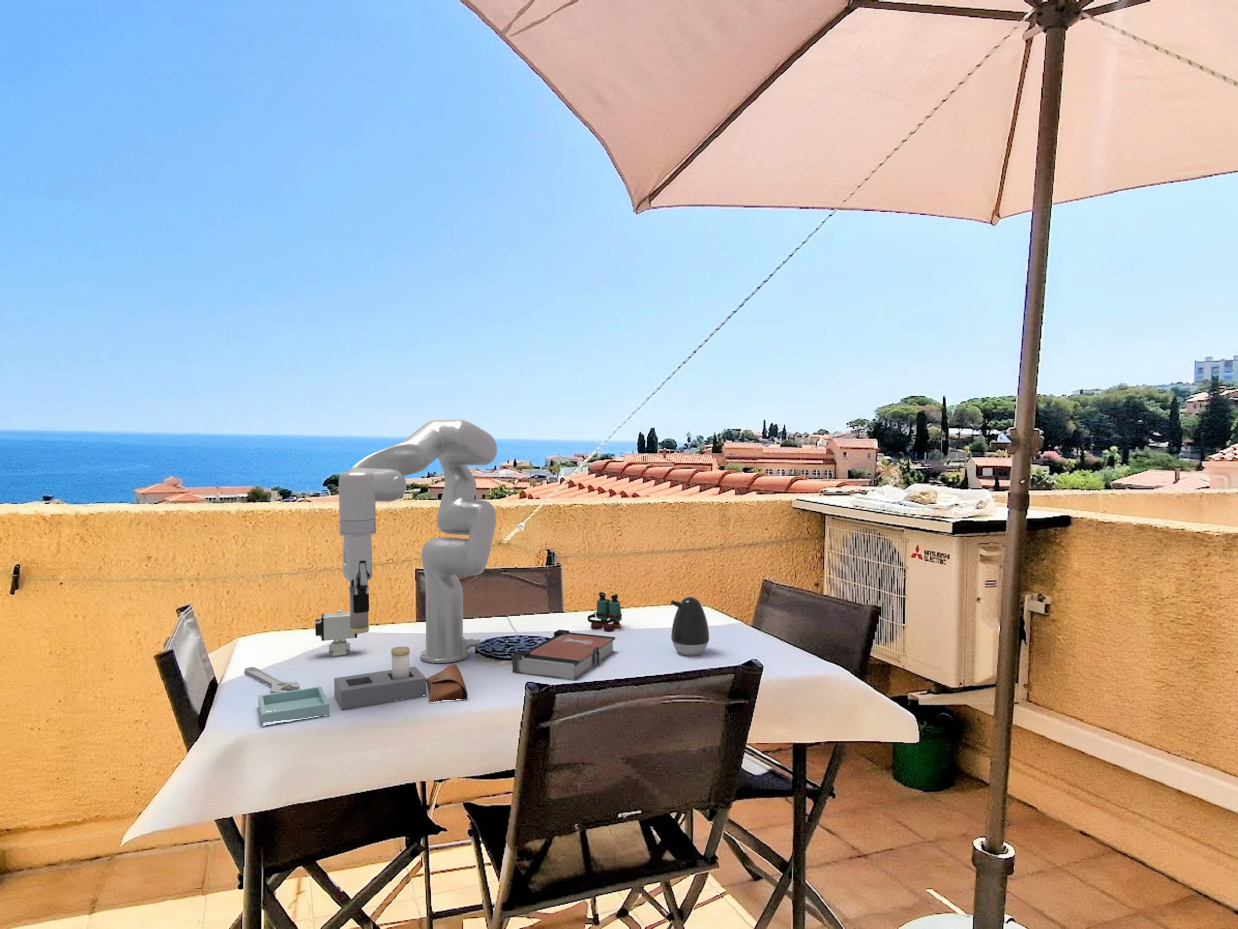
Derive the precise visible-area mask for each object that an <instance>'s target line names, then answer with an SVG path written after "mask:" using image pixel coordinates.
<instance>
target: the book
mask: <svg viewBox="0 0 1238 929" xmlns="http://www.w3.org/2000/svg"><path fill="white" fill-rule="evenodd" d="M614 640H616V637H615V636H608V635H599V634H598V635H597V634H591V633H589V634H588V633H582V632H581V633H578V632H570V630H569V629H568V630H566V629H558V630H556V631H554V632H553V636H552V637H551V638H549V639H547V640H545V641H543V642H541V643H539V644H538V645H536V646H533V647H532V648H530V649H528V650H527V651H521V650H518V651H516V652H514V653H512V655H511V657H512V673H513V674H520V675H529V676H535V677H543V678H550V679H559V680H566V681H577V679H578V678H580V677H582V676H583V675H585V674H586V673H587V672H588V671H590V670H591V669H593V668H594V667H598V666H599V665H600V663H601V662H603V661H604V660H605V659H607V658H609V656H611V655H612V654H614V653H616V651H615V650H614Z"/></svg>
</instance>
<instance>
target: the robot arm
mask: <svg viewBox="0 0 1238 929" xmlns="http://www.w3.org/2000/svg"><path fill="white" fill-rule="evenodd" d="M497 446H498V445H497V442H496V440H495V438H494V437H493V435H491V434H490V433H488V431H485V430H484V429H482V428H481V427H478V426H477V425H476V424H474V423H472V422H469V421H468V420H465V419H463V420H462V419H434V420H430V421H428V422H426V423H424V424H423V425H422V426H421V427H419V428H418V429H417V430H415V431H414V432H413V433H412V434H411V435H409V436H408V437H407V438H406V439H404V440H403V441H401V442H400V443H398V444H394V445H391V446H389V447H387V448H384V449H382V450H379V451H377V452H376V451H375V452H374V453H371V454H369V455H367V456H366V457H363V458H362V459H361V460H359V461H358V462H357V463H355V464H354V465H353V466H352V467H351V468H350V469H349V470H348V471H344V472H341V473H340V475H338V476H339V477H338V505H339V506H338V508H339V509H338V511H339V512H338V513H339V515H338V516H339V535H340V536H342V537H343V543H342V544H343V545H342V575H343V577H344V578H345V579H346V580H347V581H348V582H349V586H352V585H354V592H355V595H353V612H354V613H363V612H368V613H369V612H370V593H369V590H368V585H369V581H370V580H371V579H372V578H373V546H372V544H373V543H372V535H375V534H377V523H376V522H377V517H376V516H377V513H376V511H377V509H376V504H377V502H380V503H381V502H383V503H387V502H388V503H389V502H394V501H397V500H399V499H400V498H402V496H403V495H404V494H405V492H406V490H407V480H406V477H405V476H409V475H414V474H417V473H420V472H423V471H424V470H426V469H427V467H429V466H430V465H431V464H432V463H433V462H434V461H435V460H437V459H438V461H439V463H440V466H441V468H442V471H443V474H444V487H443V491H442V495H441V499H440V503H439V508H438V510H437V517H436V527H437V529H438V530H439V531H440V532H441V533H443V534H448V535H457V536H458V535H459V536H468V538H463V537H461V538H460V537H445V536H443V537H442V536H441V537H434V538H430V539H429V540H428V541H426V543H425V544H424V545H423V547H422V549H421V555H420V556H421V563H422V568H423V573H424V581H425V582H424V583H425V649H424V650H423V651H421V652H420V655H419V658H420V659H421V661H423V662H426V663H431V664H449V663H454V662H460V661H463V660H465V659H467V658H468V657H469V656H470V651H469V649H470V648H477V647H478V648H479V647H481V646H482V639H480V638H476V639H474V638H468V639H467V638H465V637H464V603H463V602H464V590H463V586H462V584H461V581H460V579H459V578H458V576H470V577H473V576H479V575H480V574H482V573H483V572H484V571H485V569H486V567H487V565H488V562H489V557H490V552H491V548H492V544H493V541H494V540H493V539H494V535H495V531H496V525H497V515H496V514H497V513H496V510H495V507H494V505H493V504H492V503H491V502H489V501H488V500H483V499H475V498H476V492H477V482H476V478H475V477H474V474H473V473H472V472H471V470H470V469H469V467H468V466H485V465H486V466H487V465H489V464H491V463H493V461H495V459H496V457H497V452H498V447H497Z"/></svg>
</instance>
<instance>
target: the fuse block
mask: <svg viewBox="0 0 1238 929" xmlns="http://www.w3.org/2000/svg"><path fill="white" fill-rule="evenodd" d="M333 679H334V680H333V682H334V683H333V685H334V688H333V689H334V694H333V695H334V698H335V700H336V701H337V704H338V706H339V709H340V710H341V709H344V710H348V709H347V708H350V709H353V707H356V708H361V707H360V706H362V707H367V706H366V705H368V706H373V705H372V704H375V705H380V703H381V704H386V702H387V703H393V702H396V701H395V700H399V701H402V700H401V699H405V700H408V699H407V698H411V699H413V698H412V697H417V698H419V697H418V696H423V695H426V696H427V683H426V679H427V677H426V676H425V675H424V674H423V673H422V671H420V670H419V668H417V666H409V677H408V678H402V679H395V680H392V669H390V670H389V669H387V670H382V671H375V672H368V673H361V674H354V675H347V676H346V675H345V676H341V677H334V678H333ZM423 697H424V696H423ZM392 701H393V702H392Z"/></svg>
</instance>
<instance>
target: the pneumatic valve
mask: <svg viewBox="0 0 1238 929" xmlns="http://www.w3.org/2000/svg"><path fill="white" fill-rule="evenodd" d="M314 622H315V625H314V626H315V632H314V633H315V637H320V638H321V642H324V641H331V644H329V645H328V654H330V655H331V657H334V656H335V657H344V655H345V656H348V653H350V652H351V643H350V642H348V640H349V639H357V638H358V634H354V633H350V611H342V610H341V609H337V611H336V612H329V613H321V616H320V618H317V619H315V621H314ZM347 639H348V640H347ZM335 657H334V658H335Z"/></svg>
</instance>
